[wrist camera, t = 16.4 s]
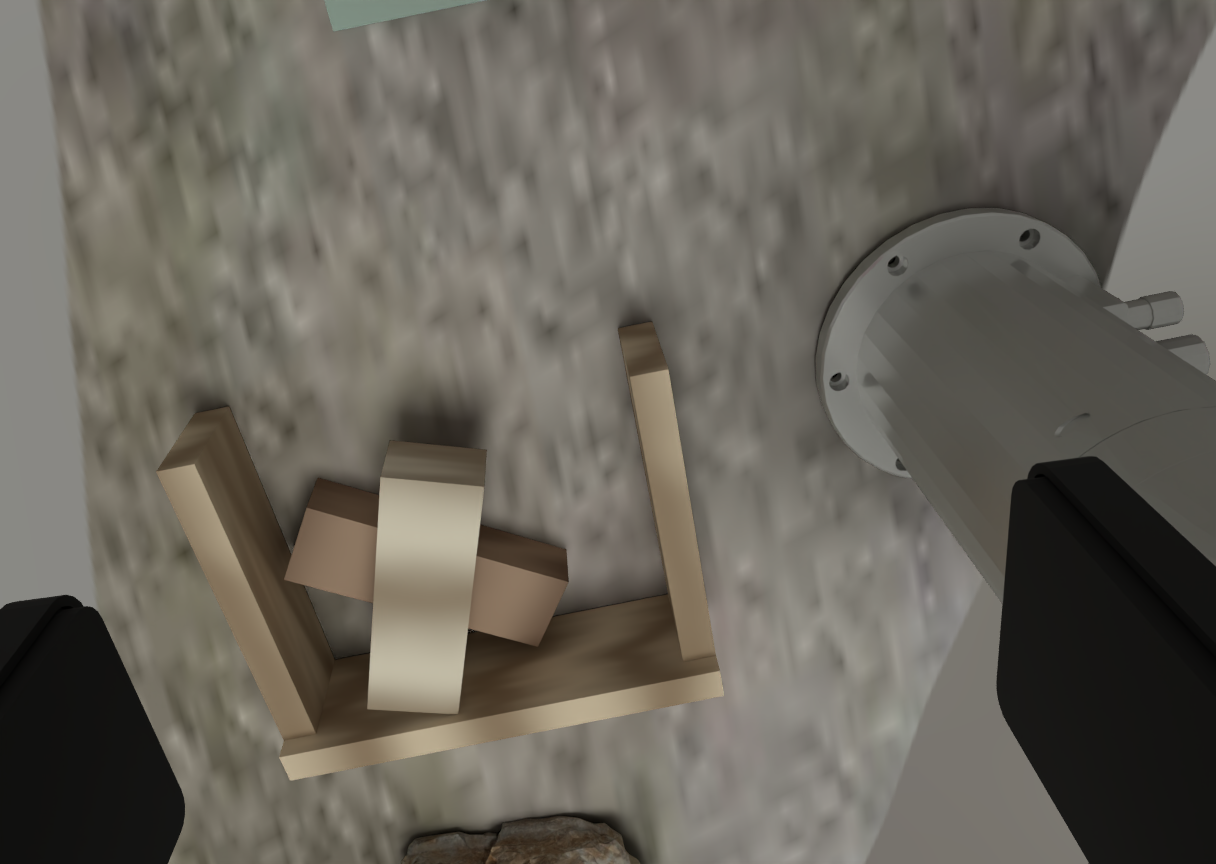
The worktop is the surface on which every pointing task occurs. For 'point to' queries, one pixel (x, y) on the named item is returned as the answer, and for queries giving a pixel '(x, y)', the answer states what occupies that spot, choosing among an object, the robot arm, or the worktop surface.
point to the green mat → (381, 10)
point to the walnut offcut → (503, 579)
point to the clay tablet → (526, 845)
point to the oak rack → (493, 666)
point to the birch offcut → (424, 575)
